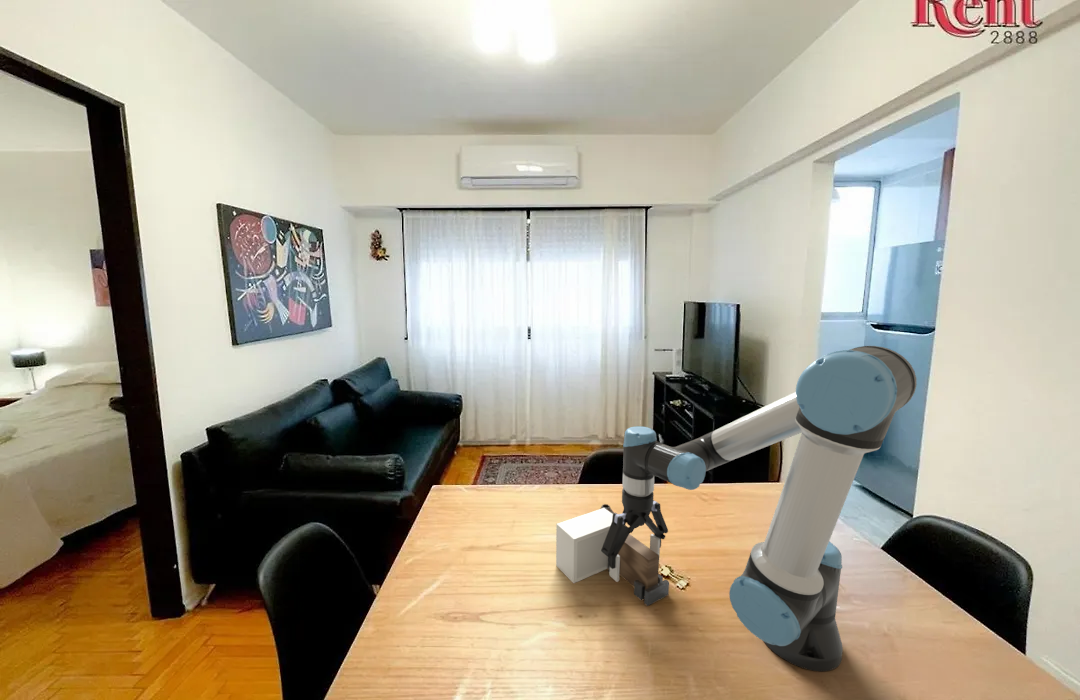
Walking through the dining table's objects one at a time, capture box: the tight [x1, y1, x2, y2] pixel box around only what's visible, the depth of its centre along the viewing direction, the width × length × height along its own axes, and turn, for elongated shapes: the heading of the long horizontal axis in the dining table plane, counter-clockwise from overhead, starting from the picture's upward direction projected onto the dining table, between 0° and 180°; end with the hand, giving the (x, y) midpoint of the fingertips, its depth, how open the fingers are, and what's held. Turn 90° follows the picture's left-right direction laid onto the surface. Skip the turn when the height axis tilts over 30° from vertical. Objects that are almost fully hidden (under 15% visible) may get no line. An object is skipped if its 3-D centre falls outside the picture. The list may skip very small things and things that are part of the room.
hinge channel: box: [607, 566, 670, 607], centre depth 104 cm, size 15×7×8 cm, turn 31°
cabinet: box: [555, 508, 613, 584], centre depth 111 cm, size 8×16×12 cm, turn 121°
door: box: [618, 533, 660, 597], centre depth 105 cm, size 12×4×10 cm, turn 31°
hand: (634, 568), depth 105 cm, fingers open, 13 cm apart
